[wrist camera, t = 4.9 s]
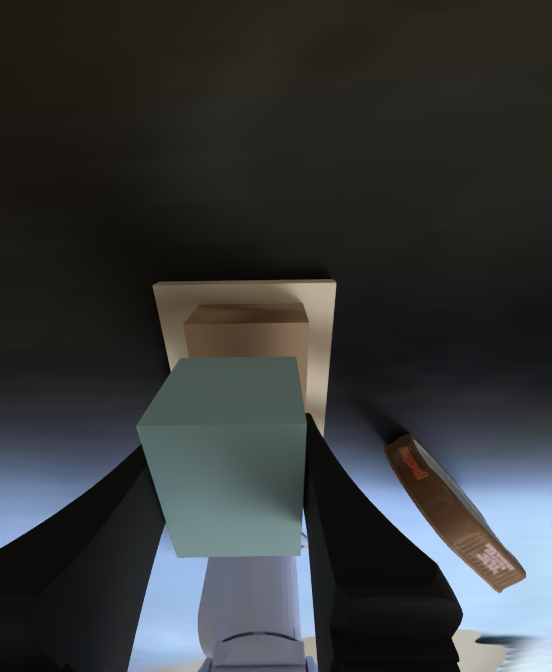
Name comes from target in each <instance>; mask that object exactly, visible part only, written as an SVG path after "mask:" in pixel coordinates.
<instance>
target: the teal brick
mask: <svg viewBox="0 0 552 672" xmlns="http://www.w3.org/2000/svg"><path fill="white" fill-rule="evenodd" d="M136 428H137V431H138V434H139V437H140V441H141V444H142V447H143V450H144V453H145V457H146V460H147V463H148V466H149V469H150V472H151V476H152V479H153V482H154V485H155V488H156V492H157V495H158V498H159V501H160V504H161V508H162V511H163V514H164V517H165V520H166V523H167V527H168V530H169V533H170V536H171V539H172V543H173V546H174V549H175V552H176V555H177V558H184V557H245V556H300V554H301V534H302V513H303V492H304V471H305V451H306V430H307V422H306V415H305V409H304V403H303V396H302V390H301V384H300V377H299V371H298V365H297V358H296V356H289V357H223V358H180V359H179V361H178V362H177V364H176V365H175V367H174V369H173V370H172V372H171V373H170V375H169V376H168V378H167V379H166V381H165V382H164V384H163V386H162V387H161V389H160V390H159V392H158V393H157V395H156V396H155V398H154V399H153V401H152V402H151V404H150V406H149V407H148V409H147V410H146V412H145V413H144V415H143V416H142V418H141V419H140V421H139V423H138V424H137V426H136Z"/></svg>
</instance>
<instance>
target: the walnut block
mask: <svg viewBox="0 0 552 672" xmlns="http://www.w3.org/2000/svg"><path fill="white" fill-rule="evenodd" d="M183 327H184V333H185V339H186V344H187V350H188V356H189V358H223V357H289V356H296V358H297V365H298V371H299V377H300V384H301V390H302V396H303V403H304V409H305V412H306V389H307V366H308V343H309V320H308V317H307V314H306V311H305V308H304V305H303V303H280V304H213V305H199V306H198V307H197V308H196V309H195V311H194V312H193V313H192V314H191V315H190V317H189V318H188V319H187V320H186V321H185V323H184V324H183Z"/></svg>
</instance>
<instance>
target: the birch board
mask: <svg viewBox="0 0 552 672" xmlns="http://www.w3.org/2000/svg"><path fill="white" fill-rule="evenodd" d="M153 290H154V295H155V299H156V304H157V309H158V313H159V318H160V323H161V327H162V332H163V337H164V341H165V346H166V351H167V355H168V360H169V365H170V369H171V372H172V370H173V369H174V367H175V365H176V364H177V362H178V361H179V359H180V358H189V356H188V350H187V344H186V339H185V333H184V327H183V324H184V323H185V321H186V320H187V319H188V318H189V317H190V315H191V314H192V313H193V312H194V311H195V309H196V308H197V307H198V306H199V305H213V304H280V303H303V305H304V308H305V311H306V314H307V317H308V320H309V343H308V366H307V389H306V412H305V413H310V414H311V415H312V417H313V419H314V421H315V423H316V426H317V427H318V429H319V431H320V433H321V435H322V437H323V434H324V422H325V410H326V398H327V386H328V374H329V363H330V351H331V339H332V327H333V315H334V303H335V292H336V282H335V281H334V280H333V279H318V280H250V281H183V282H158V283H156V284H154V285H153Z"/></svg>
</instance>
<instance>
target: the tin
mask: <svg viewBox="0 0 552 672" xmlns="http://www.w3.org/2000/svg"><path fill="white" fill-rule="evenodd" d="M384 451H385V454H386V457H387V459H388V461H389V463H390V465H391V467H392V469H393V470H394V472H395V474H396V476H397V477H398V479H399V481H400V482H401V484H402V485H403V487H404V488H405V490H406V492H407V493H408V495H409V496H410V498H411V499H412V501H413V502H414V503H415V505H416V506H417V508H418V509H419V511H420V512H421V513H422V515H423V516H424V517H425V519H426V520H427V521H428V523H429V524H430V525H431V526H432V528H433V529H434V530H435V532H436V533H437V534H438V535H439V537H440V538H441V539H442V540H443V541H444V542H445V543H446V545H447V546H448V547H449V548H450V549H451V550H452V551H453V552H454V553H455V554H457V555H458V556H459V557H460V558H461V559H462V560H463V561H464V562H465V563H466V564H467V565H468V566H470V567H471V568H472V569H473V570H474V571H475V572H476V573H477V574H478V575H479V576H480V577H482V578H483V579H484V580H485V581H486V582H487V583H488V584H489V585H490V586H491V587H492V588H493V589H494V590H495V591H497V592H498V593H501V592H502V590H503V589H505V588H507V587H509V586H511V585H513V584H516V583H518V582H520V581H522V580H523V579H524V578H526V572H525V570H524V569H523V567H522V566H521V565H520V563H519V562H518V561H517V559H516V558H515V557H514V556H513V555H512V554H511V553H510V552H509V551H508V550H507V549H506V548H505V547H504V546H503V545H502V543H501V542H500V541H499V539H498V538H497V537H496V535H495V534H494V533H493V531H492V530H491V529H490V527H489V526H488V524H487V523H486V521H485V519H484V517H483V516H482V514H481V513H480V512H479V510H478V509H477V508H476V507H475V505H474V504H473V503H472V502H471V501H470V499H469V498H468V497H467V496H466V495H465V493H464V492H463V491H462V490H461V489H460V487H459V486H458V485H457V484H456V483H455V482H454V480H453V479H452V478H451V477H450V476H449V475H448V474H447V472H446V471H445V470H444V469H443V468H442V467H441V465H440V464H439V463H438V462H437V461H436V460H435V459H434V458H433V457H432V455H431V454H430V453H429V452H428V451H427V450H426V449H425V448H424V447H423V446H422V445H421V444H420V443H419V442H418V441H417V440H416V439H415V438H414V437H413V436H412V435H411V434H406V435H404V436H402V437H400V438H399V439H397V440H396V441H394V442H392V443H391V444H389V445H385V446H384Z"/></svg>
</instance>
